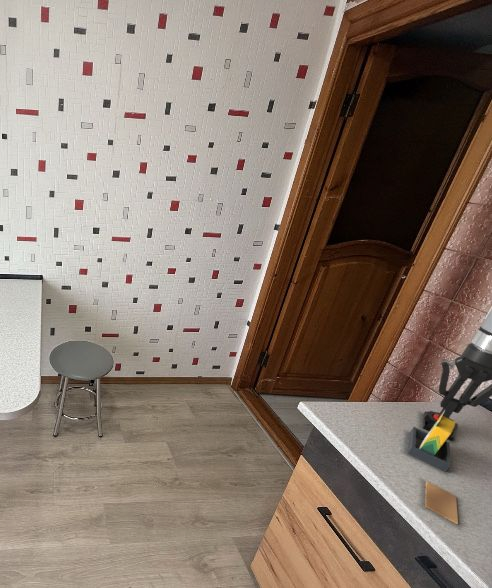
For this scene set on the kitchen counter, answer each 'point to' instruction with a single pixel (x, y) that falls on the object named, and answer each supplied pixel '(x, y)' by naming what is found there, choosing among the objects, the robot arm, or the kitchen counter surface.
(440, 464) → the dock
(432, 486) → the mat
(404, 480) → the kitchen counter surface
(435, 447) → the crayon box
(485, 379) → the robot arm
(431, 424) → the control block
